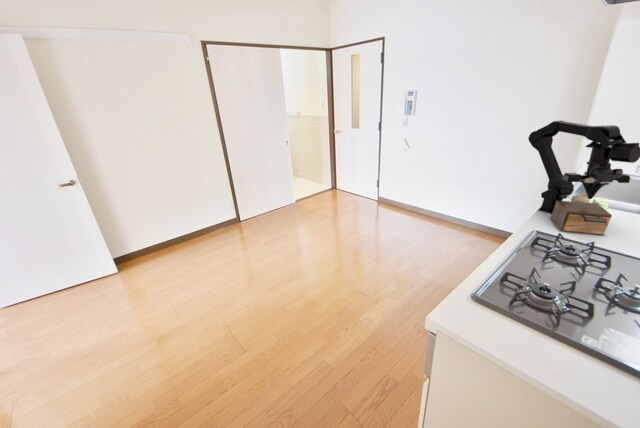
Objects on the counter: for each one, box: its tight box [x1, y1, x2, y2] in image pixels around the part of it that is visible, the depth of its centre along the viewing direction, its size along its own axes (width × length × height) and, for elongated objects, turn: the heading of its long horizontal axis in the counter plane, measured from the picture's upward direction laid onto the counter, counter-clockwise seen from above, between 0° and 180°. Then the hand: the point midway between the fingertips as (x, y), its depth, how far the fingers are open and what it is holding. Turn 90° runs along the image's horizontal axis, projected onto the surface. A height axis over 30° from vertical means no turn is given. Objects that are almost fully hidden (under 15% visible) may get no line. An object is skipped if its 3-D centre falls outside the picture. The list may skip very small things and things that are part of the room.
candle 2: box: [591, 196, 610, 211], centre depth 120 cm, size 5×5×8 cm
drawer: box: [563, 214, 612, 235], centre depth 109 cm, size 15×12×8 cm
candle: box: [570, 193, 591, 203], centre depth 121 cm, size 6×6×10 cm
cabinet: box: [550, 200, 613, 236], centre depth 113 cm, size 12×14×9 cm
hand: (589, 198), depth 112 cm, fingers closed
